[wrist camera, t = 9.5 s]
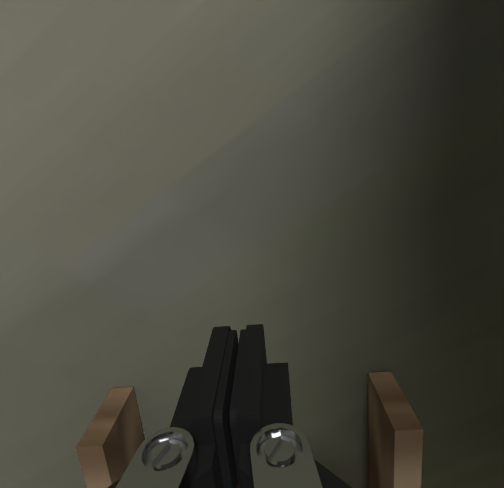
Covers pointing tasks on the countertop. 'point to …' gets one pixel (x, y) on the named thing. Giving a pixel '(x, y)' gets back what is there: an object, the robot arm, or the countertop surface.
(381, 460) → the wooden tray
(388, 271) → the countertop surface
